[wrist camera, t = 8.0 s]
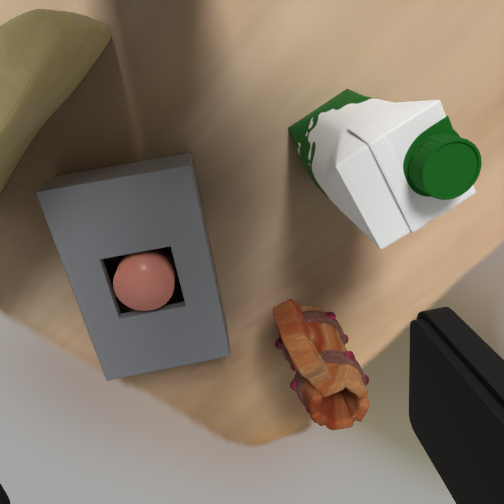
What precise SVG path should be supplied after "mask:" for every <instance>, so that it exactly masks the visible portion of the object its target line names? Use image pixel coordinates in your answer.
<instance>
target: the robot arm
mask: <svg viewBox="0 0 504 504" xmlns="http://www.w3.org/2000/svg"><path fill="white" fill-rule="evenodd" d="M409 375H410V376H409V381H410V382H409V383H410V384H409V417H410V422H411V425H412V428H413V430H414V432H415V434H416V436H417V437H418V439H419V441H420V442H421V444H422V446H423V447H424V449H425V451H426V453H427V454H428V456H429V458H430V459H431V461H432V463H433V464H434V466H435V468H436V470H437V471H438V473H439V475H440V476H441V478H442V480H443V482H444V483H445V485H446V487H447V488H448V490H449V492H450V493H451V495H452V497H453V499H454V500H455V502H456V504H504V360H503V359H502V358H501V357H500V356H499V355H498V354H497V353H496V352H495V351H494V350H493V349H492V348H490V346H488V345H487V343H485V342H484V341H483V340H482V339H481V338H480V337H479V336H478V335H477V334H476V333H475V332H474V331H473V330H472V329H471V328H470V327H469V326H468V325H467V324H466V323H465V322H464V321H463V320H462V319H461V318H460V317H459V316H458V315H457V314H456V313H455V312H454V311H453V310H451V309H450V308H449V307H442V308H437V309H432V310H427V311H422V312H420V313H419V314H418V316H417V320H413V321H411V324H410V374H409ZM0 504H10V500H9V498H8V496H7V494H6V492H5V491H4V489H3V487H2V486H1V484H0Z"/></svg>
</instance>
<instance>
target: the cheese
mask: <svg viewBox="0 0 504 504" xmlns="http://www.w3.org/2000/svg"><path fill="white" fill-rule="evenodd" d="M110 39H111V32H110V31H109V29H108V28H107V27H106V26H105V25H104V23H102V22H101V21H98V20H95V19H92V18H89V17H87V16H84V15H81V14H77V13H72V12H65V11H54V10H46V9H36V10H32V11H29V12H26V13H24V14H22V15H19V16H17V17H15V18H14V19H12V20H10V21H8V22H6V23H5V24H3V25H1V26H0V194H1V192H2V190H3V188H4V187H5V185H6V183H7V181H8V180H9V178H10V176H11V175H12V173H13V171H14V170H15V168H16V166H17V165H18V163H19V161H20V160H21V158H22V156H23V155H24V153H25V151H26V150H27V148H28V147H29V145H30V144H31V142H32V141H33V139H34V138H35V136H36V135H37V133H38V132H39V131H40V129H41V128H42V127H43V125H44V124H45V123H46V122H47V120H48V119H49V118H50V117H51V116H52V115H53V113H54V112H55V111H56V110H57V109H58V108H59V107H60V106H61V105H62V104H63V103H64V102H65V100H66V99H67V98H68V97H69V96H70V95H71V94H72V92H73V91H74V90H75V89H76V87H77V86H78V85H79V84H80V82H81V81H82V80H83V78H84V77H85V76H86V74H87V73H88V72H89V70H90V69H91V67H92V66H93V65H94V63H95V62H96V60H97V59H98V58H99V56H100V55H101V53H102V52H103V51H104V49H105V48H106V46H107V45H108V43H109V41H110Z"/></svg>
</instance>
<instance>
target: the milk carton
mask: <svg viewBox="0 0 504 504" xmlns="http://www.w3.org/2000/svg"><path fill="white" fill-rule="evenodd" d="M289 131H290V133H291V136H292V138H293V141H294V144H295V146H296V149H297V151H298V154H299V156H300V159H301V161H302V162H303V164H304V166H305V168H306V169H307V171H308V173H309V175H310V176H311V178H312V180H313V181H314V183H315V184H316V185H317V187H318V188H319V189H320V190H321V191H322V192H323V193H324V194H325V195H326V196H327V197H328V198H329V199H330V200H331V201H332V202H333V203H334V204H335V205H336V206H337V207H338V208H339V209H340V211H341V212H342V213H343V214H345V215H346V216H347V217H348V218H349V219H350V220H351V221H352V222H353V223H354V224H355V225H356V226H357V227H358V228H359V229H360V230H361V231H362V232H363V233H364V234H365V235H366V236H367V237H369V238H370V239H371V240H372V241H373V242H374V243H375V244H376V245H377V246H378V247H379V248H380V249H383V248H385V247H386V246H388V245H390V244H391V243H393V242H395V241H396V240H398V239H400V238H401V237H403V236H405V235H406V234H408V233H410V232H412V233H413V232H415V231H417V230H418V229H420V228H422V227H423V226H425V225H426V224H427V223H428V222H430V221H432V220H433V219H435V218H437V217H438V216H440V215H441V214H443V213H445V212H446V211H448V210H450V209H451V208H453V207H454V206H456V205H458V204H459V203H461V202H463V201H464V200H466V199H467V198H469V197H471V196H472V195H474V194H475V193H476V191H475V188H474V186H473V184H474V183H475V181H476V180H477V178H478V176H479V173H480V170H481V155H480V152H479V150H478V148H477V147H476V146H475V145H474V144H473V143H472V142H470V141H468V140H467V139H463V138H460V136H459V135H458V133H457V132H456V131H455V130H454V129H453V128H452V125H451V122H450V120H449V117H448V116H446V115H445V112H444V110H443V107H442V104H441V102H440V100H428V101H414V102H399V103H393V102H388V101H384V100H379V99H375V98H370V97H366V96H363V95H360V94H358V93H356V92H353V91H351V90H349V89H346V90H345V91H343V92H342V93H340V94H339V95H337V96H336V97H334V98H333V99H331V100H330V101H328V102H327V103H325V104H324V105H322V106H321V107H319V108H318V109H316V110H315V111H313V112H312V113H310V114H309V115H307V116H306V117H304V118H303V119H301V120H300V121H298V122H296V123H295V124H293V125H292V126H290V127H289Z"/></svg>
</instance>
